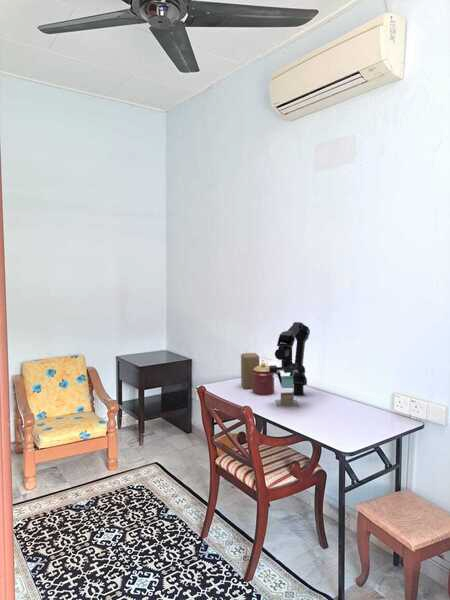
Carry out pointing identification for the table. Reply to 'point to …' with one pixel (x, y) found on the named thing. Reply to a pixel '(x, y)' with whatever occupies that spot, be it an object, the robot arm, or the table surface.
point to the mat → (279, 404)
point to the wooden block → (248, 368)
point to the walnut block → (287, 398)
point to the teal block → (286, 381)
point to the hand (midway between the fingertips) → (286, 384)
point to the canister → (263, 380)
